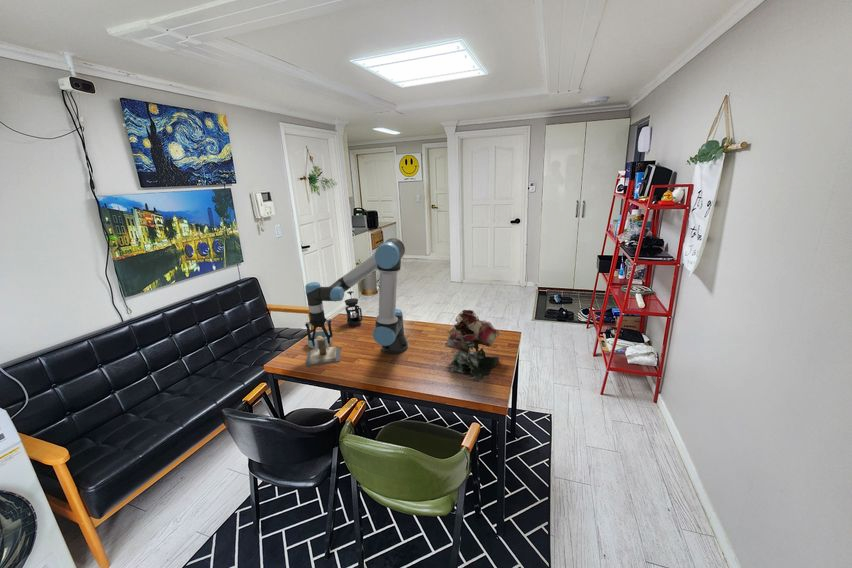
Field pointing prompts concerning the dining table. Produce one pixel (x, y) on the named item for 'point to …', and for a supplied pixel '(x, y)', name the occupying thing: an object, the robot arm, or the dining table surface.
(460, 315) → the rose bouquet
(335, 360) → the mat
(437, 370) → the dining table surface
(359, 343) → the dining table surface
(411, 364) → the dining table surface
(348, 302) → the french press
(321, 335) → the bowl
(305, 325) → the robot arm
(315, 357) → the lid
